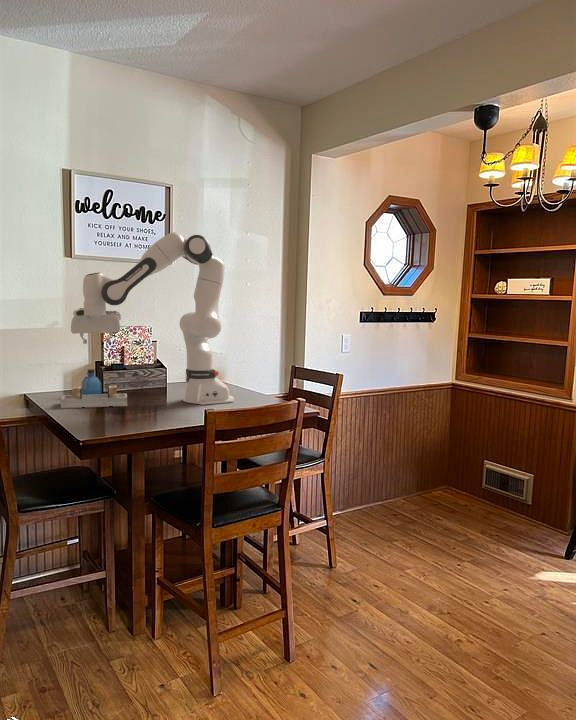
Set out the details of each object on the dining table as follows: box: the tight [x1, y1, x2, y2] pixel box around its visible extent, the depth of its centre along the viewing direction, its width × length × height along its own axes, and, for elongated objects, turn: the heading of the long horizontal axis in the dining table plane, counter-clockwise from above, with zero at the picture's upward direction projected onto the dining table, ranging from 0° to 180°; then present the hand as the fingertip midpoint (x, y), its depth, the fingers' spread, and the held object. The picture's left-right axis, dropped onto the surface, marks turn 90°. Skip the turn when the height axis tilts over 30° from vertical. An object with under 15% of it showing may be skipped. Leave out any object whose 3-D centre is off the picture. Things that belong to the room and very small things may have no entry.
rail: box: [60, 393, 128, 409], centre depth 241 cm, size 26×10×4 cm, turn 107°
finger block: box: [71, 385, 82, 399], centre depth 239 cm, size 4×5×6 cm
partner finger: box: [107, 384, 118, 398], centre depth 243 cm, size 4×5×6 cm
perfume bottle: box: [81, 368, 102, 395], centre depth 258 cm, size 6×6×12 cm
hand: (96, 343), depth 247 cm, fingers open, 8 cm apart
